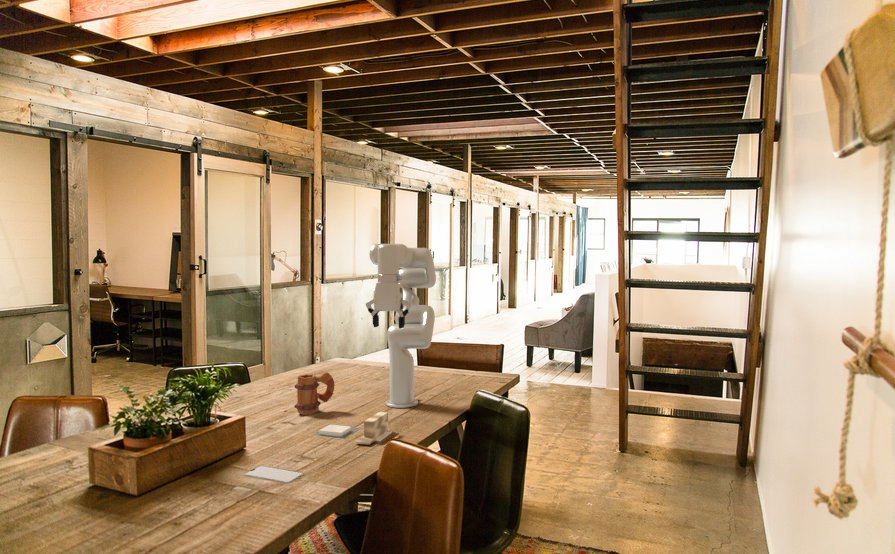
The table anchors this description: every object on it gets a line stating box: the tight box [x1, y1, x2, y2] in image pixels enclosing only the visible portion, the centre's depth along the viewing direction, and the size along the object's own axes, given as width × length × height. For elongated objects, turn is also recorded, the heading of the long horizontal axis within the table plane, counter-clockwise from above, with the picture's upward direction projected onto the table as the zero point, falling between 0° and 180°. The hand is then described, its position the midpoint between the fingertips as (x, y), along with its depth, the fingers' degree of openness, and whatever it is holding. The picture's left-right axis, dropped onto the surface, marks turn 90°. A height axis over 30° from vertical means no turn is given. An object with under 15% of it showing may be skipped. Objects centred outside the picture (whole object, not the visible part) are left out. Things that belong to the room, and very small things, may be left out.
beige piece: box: [354, 411, 389, 445], centre depth 196 cm, size 16×5×6 cm, turn 162°
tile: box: [318, 424, 352, 438], centre depth 201 cm, size 2×8×7 cm
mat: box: [314, 426, 361, 439], centre depth 203 cm, size 12×11×1 cm
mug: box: [294, 371, 335, 416], centre depth 227 cm, size 15×8×15 cm, turn 105°
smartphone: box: [243, 465, 304, 484], centre depth 166 cm, size 7×1×15 cm
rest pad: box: [362, 430, 393, 443], centre depth 198 cm, size 10×7×1 cm
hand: (388, 327), depth 217 cm, fingers open, 9 cm apart
